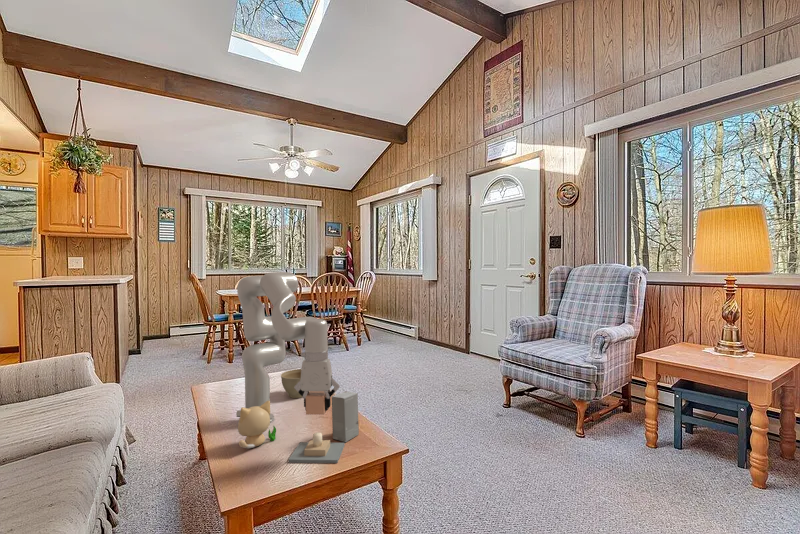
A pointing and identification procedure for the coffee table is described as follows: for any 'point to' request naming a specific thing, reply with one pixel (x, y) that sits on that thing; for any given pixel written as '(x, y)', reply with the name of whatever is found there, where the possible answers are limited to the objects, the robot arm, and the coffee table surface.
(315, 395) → the peach cardboard cube
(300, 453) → the post board
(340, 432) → the skincare box
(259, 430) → the kitten
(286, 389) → the planter bowl
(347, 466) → the coffee table surface
